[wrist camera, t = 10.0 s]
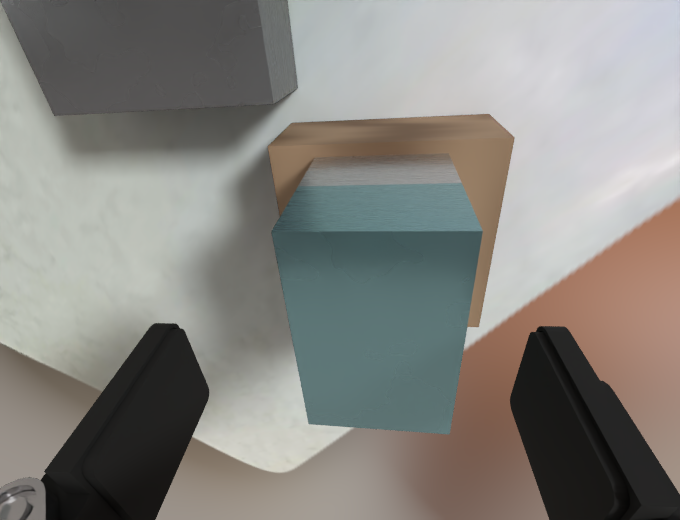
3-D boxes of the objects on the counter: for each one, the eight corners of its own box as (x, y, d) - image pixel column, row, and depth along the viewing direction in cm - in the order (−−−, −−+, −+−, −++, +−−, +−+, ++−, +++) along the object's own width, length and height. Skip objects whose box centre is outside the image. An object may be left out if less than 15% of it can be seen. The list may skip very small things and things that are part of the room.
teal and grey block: (314, 157, 14) (271, 231, 9) (448, 153, 13) (482, 231, 8) (331, 314, 18) (308, 424, 13) (433, 317, 17) (449, 434, 12)
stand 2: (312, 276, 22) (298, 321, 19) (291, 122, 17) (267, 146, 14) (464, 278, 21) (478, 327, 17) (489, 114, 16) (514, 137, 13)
